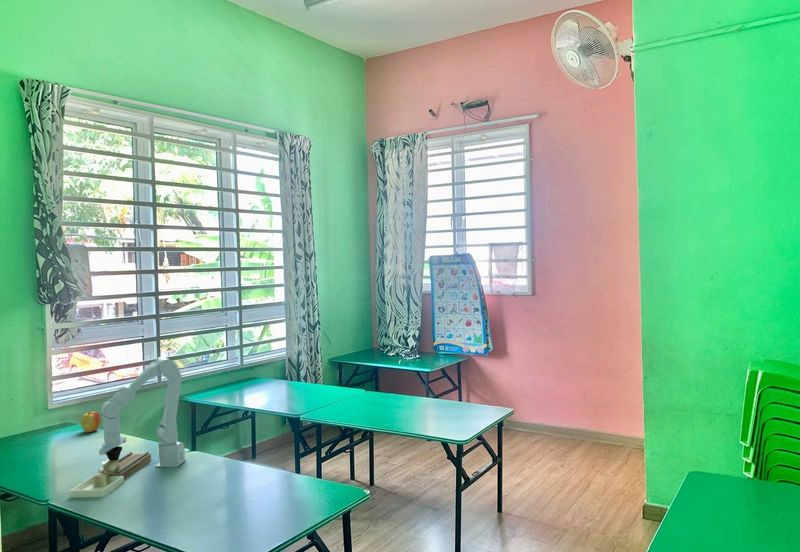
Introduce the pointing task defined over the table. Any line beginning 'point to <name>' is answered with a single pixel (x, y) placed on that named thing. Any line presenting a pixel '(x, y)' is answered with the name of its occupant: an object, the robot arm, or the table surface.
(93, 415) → the apple
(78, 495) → the tray
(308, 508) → the table surface
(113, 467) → the beige cube
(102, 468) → the knife
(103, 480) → the chip front
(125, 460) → the slot block
